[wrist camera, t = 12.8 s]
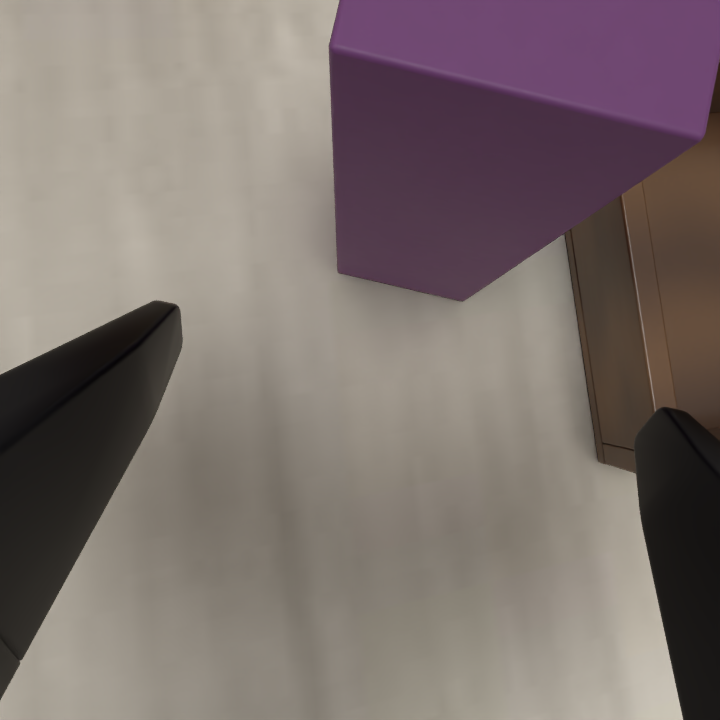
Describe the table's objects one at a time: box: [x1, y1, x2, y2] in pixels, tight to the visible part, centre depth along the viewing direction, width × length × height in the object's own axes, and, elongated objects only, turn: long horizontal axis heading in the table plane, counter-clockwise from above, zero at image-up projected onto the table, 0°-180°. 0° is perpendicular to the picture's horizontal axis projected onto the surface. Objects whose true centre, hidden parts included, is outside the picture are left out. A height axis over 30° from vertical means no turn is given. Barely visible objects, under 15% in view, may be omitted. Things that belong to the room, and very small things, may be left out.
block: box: [329, 0, 720, 301], centre depth 13 cm, size 5×5×13 cm
